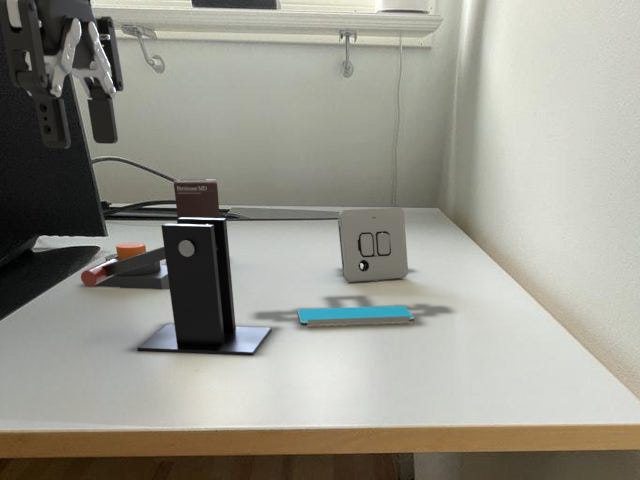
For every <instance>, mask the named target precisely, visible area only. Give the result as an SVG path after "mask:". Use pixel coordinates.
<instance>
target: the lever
mask: <svg viewBox="0 0 640 480" xmlns="http://www.w3.org/2000/svg"><path fill="white" fill-rule="evenodd" d="M205 225H210V224H209V223H208V224H205ZM215 244H216V251H218V250H219V248H218V245H217V242H216V240H215ZM164 260H166V257H165V250H164V246H161V247H158V248H155V249H151V250H148V251H146V252H145V253H142V254H138V255H135V256H132V257H129V258H126V259H122V260H119V261H117V260H115V259H110V260H108V261H106V260H105V261H103V262H101V263H99V264H96V265H94V266H92V267H90V268H88V269H85V270H83V271H82V273H81V274H80V280H81V282H82V283H83V285H84V286H85V287H91V288H92V287H95V286H94V285H96V284H98V283H100V282H102V281H104V280H106V279H108V278H110V277H112V276H114V275H116V274H119V273H122V272H125V271H128V270H132V269H135V268H138V267H141V266H145V265H148V264H151V263H154V262H158V261H160V262H161V261H164Z"/></svg>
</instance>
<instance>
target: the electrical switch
mask: <svg viewBox="0 0 640 480" xmlns="http://www.w3.org/2000/svg"><path fill="white" fill-rule="evenodd" d="M337 217H338V219H337V225H338V227H337V228H338V236H339V238H338V239H339V247H340V257H341V268H342V278H343V279H344V280H345V282H347V283H361V282H362V283H363V282H372V281H373V282H374V281H386V280H398V279H404V278H406V277H407V276H408V274H409V265H408V264H409V263H408V250H407V235H406V221H405V220H406V219H405V212H404V209H403V208H401V207H387V208H386V207H385V208H383V207H382V208H365V209H363V208H362V209H343V210H341V211H340V212H339V213H338V215H337ZM361 264H362V266H361ZM361 267H362V268H361Z"/></svg>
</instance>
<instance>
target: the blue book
mask: <svg viewBox="0 0 640 480" xmlns="http://www.w3.org/2000/svg"><path fill="white" fill-rule="evenodd" d="M297 314H298V317H299V321H300V323H301V324H307V327H308V328H323V327H324V328H328V327H351V326H352V327H353V326H382V325H405V324H407V325H409V324H410V323H412V322H413V319H414V318H415V317H414V315H413V314H412V313H411V312H410V310H409V309H408V308H407V307H406V306H405V305H384V306H383V305H382V306H352V307H349V306H348V307H323V308H299V309H298V310H297Z"/></svg>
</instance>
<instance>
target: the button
mask: <svg viewBox="0 0 640 480" xmlns="http://www.w3.org/2000/svg"><path fill="white" fill-rule="evenodd" d="M115 249H116V253H117V256H118V259H126V258H129V257H132V256H135V255H138V254H142V253H145V252H147V248H146V244H145V243H142V242H141V243H140V242H126V243H120V244H116V245H115Z"/></svg>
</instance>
